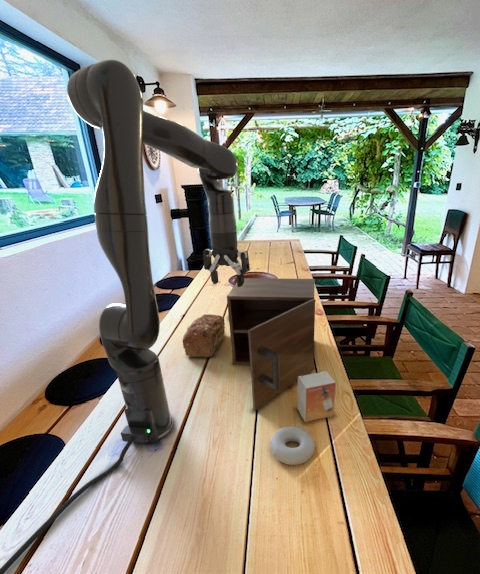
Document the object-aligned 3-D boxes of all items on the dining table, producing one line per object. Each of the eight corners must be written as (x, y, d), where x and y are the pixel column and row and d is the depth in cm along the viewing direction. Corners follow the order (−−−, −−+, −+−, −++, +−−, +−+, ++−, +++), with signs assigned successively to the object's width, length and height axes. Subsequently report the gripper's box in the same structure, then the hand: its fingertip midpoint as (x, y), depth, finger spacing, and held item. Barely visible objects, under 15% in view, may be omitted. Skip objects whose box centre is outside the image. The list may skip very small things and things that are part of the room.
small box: (304, 423, 80) (305, 388, 76) (296, 408, 85) (297, 375, 81) (334, 416, 82) (336, 382, 78) (324, 402, 87) (326, 370, 83)
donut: (323, 447, 73) (287, 427, 79) (323, 435, 72) (287, 416, 78) (298, 477, 66) (261, 453, 72) (298, 465, 65) (260, 441, 71)
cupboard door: (329, 375, 98) (332, 303, 88) (271, 421, 81) (268, 338, 71) (311, 368, 102) (313, 298, 92) (253, 409, 85) (247, 329, 75)
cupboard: (312, 368, 103) (314, 297, 93) (233, 364, 106) (226, 296, 96) (313, 341, 119) (314, 278, 109) (244, 338, 122) (239, 278, 113)
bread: (212, 359, 110) (209, 332, 106) (183, 357, 111) (179, 331, 107) (227, 334, 127) (224, 310, 122) (201, 333, 128) (197, 310, 124)
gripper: (194, 231, 90) (201, 286, 97) (239, 232, 85) (243, 291, 91) (209, 227, 96) (214, 279, 103) (251, 228, 91) (254, 283, 98)
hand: (227, 284), depth 97 cm, fingers open, 8 cm apart
